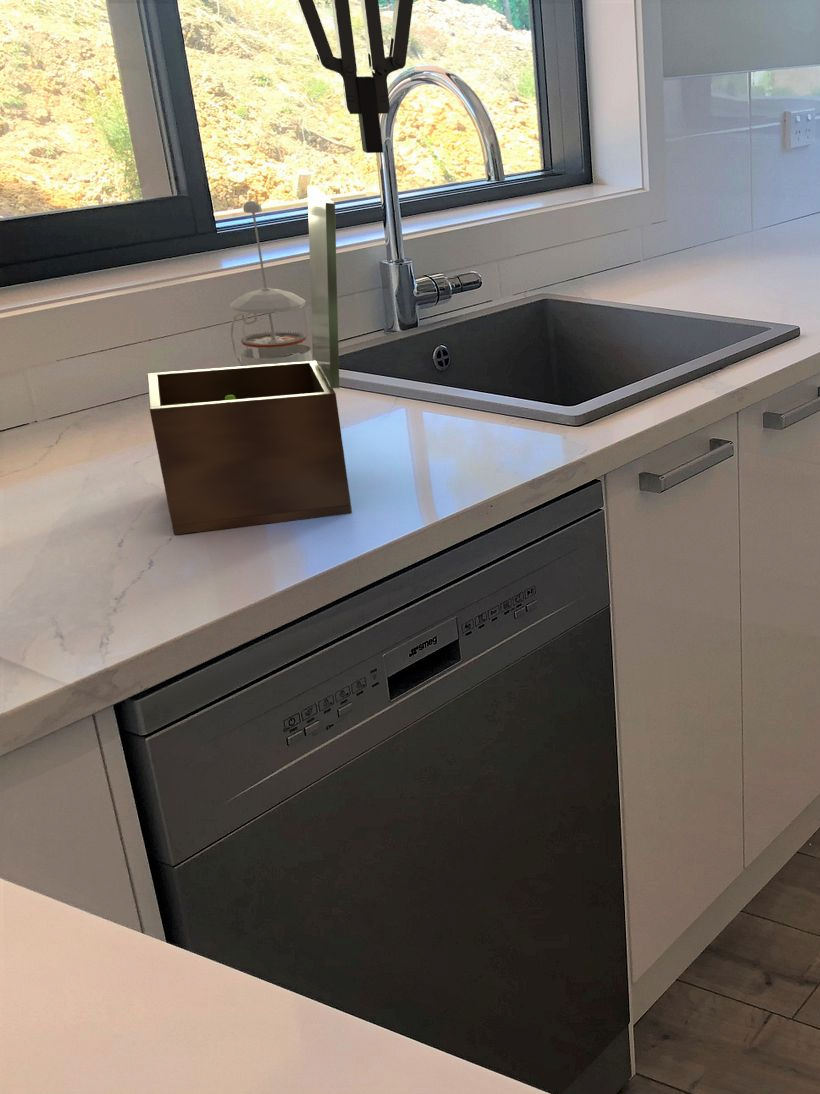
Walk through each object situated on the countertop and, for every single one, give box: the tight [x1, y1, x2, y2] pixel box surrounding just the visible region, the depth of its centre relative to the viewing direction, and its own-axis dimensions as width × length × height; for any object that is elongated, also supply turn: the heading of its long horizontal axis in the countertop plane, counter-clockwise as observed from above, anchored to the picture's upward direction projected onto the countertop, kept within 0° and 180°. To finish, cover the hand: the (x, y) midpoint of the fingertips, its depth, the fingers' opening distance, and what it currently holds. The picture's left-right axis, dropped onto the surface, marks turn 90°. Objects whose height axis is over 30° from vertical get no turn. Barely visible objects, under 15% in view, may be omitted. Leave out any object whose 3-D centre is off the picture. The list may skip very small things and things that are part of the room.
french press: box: [229, 200, 314, 366], centre depth 161 cm, size 10×12×25 cm
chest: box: [146, 360, 353, 536], centre depth 136 cm, size 16×15×12 cm
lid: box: [306, 185, 340, 389], centre depth 133 cm, size 17×15×1 cm
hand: (372, 151), depth 131 cm, fingers closed
